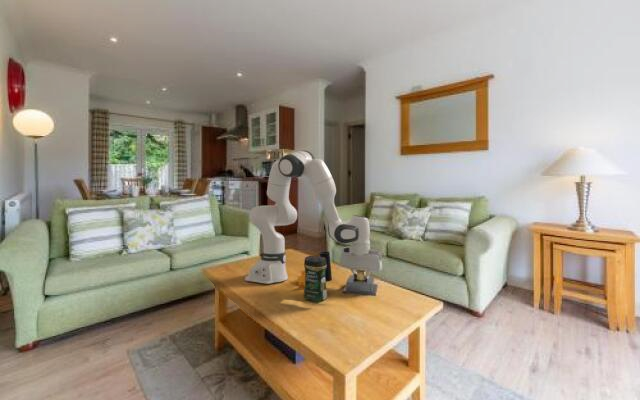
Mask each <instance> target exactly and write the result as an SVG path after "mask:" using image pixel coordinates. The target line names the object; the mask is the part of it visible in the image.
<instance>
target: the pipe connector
mask: <svg viewBox="0 0 640 400" xmlns="http://www.w3.org/2000/svg"><path fill="white" fill-rule="evenodd" d="M319 254H320V255H319V257H325V258H326V263H327V267H326V272H325V277H326V282H331V281H332V280H333V276H332V267H331V266H332V265H331V264H332V263H331V255H330V251H326V250H325V251H321V252H319Z"/></svg>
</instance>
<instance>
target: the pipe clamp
mask: <svg viewBox="0 0 640 400" xmlns="http://www.w3.org/2000/svg"><path fill="white" fill-rule="evenodd" d="M297 282H298V284H299V286H300V287H304V288H305V269H301V270H300V276H297Z"/></svg>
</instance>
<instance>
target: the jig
mask: <svg viewBox="0 0 640 400" xmlns="http://www.w3.org/2000/svg"><path fill="white" fill-rule="evenodd" d="M377 290H378V284H377V283H375V276H372V275H371V276H370V275H369V279H366V281H356V278H355V277H353V274H350V275H349V276H348V278H347V280H346V283H345V286H344V288H343V289H342V293H344V294H354V295H355V294H356V295H365V296H376V295H377V292H378V291H377Z"/></svg>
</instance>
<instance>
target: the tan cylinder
mask: <svg viewBox="0 0 640 400" xmlns="http://www.w3.org/2000/svg"><path fill="white" fill-rule="evenodd" d="M356 273H357V275H356V281H366V279H365V275H367V270H363V269H356Z"/></svg>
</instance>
